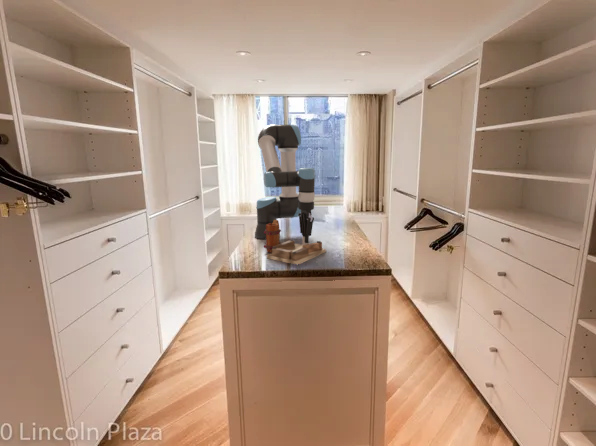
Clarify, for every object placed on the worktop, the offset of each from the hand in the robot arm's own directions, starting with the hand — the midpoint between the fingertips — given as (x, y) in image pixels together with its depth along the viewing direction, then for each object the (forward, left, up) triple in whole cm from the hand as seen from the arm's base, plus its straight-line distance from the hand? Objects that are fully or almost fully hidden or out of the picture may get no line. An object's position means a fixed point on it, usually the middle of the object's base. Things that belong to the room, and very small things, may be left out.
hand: (305, 248), depth 158 cm
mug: (-17, -3, -3) cm, 18 cm away
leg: (+3, +2, -1) cm, 4 cm away
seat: (-3, -3, -3) cm, 5 cm away
